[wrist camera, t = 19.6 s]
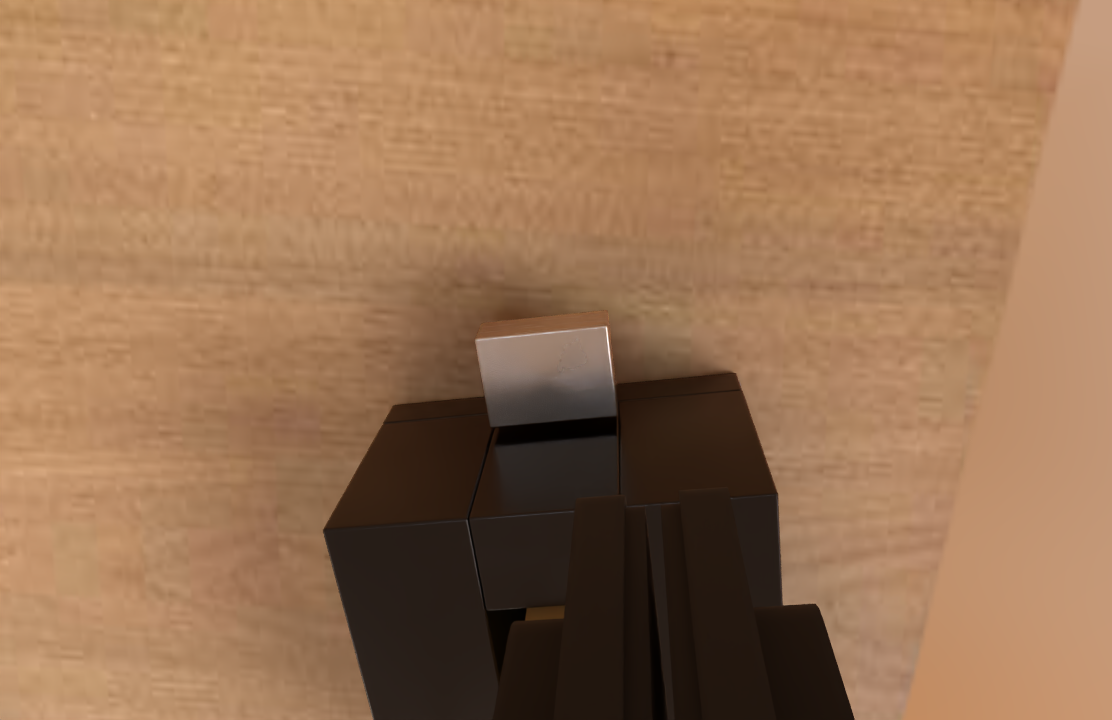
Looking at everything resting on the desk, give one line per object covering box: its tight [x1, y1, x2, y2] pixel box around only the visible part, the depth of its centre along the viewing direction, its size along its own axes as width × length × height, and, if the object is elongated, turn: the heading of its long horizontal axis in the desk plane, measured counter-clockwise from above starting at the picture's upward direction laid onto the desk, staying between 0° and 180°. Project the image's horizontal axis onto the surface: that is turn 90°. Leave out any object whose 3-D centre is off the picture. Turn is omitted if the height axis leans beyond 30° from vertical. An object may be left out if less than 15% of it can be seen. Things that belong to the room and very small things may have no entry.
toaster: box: [323, 373, 783, 720], centre depth 29 cm, size 12×16×8 cm
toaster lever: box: [475, 310, 618, 428], centre depth 27 cm, size 4×3×2 cm
